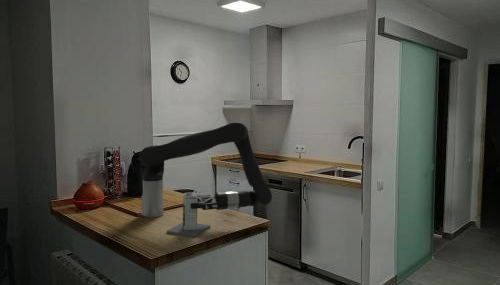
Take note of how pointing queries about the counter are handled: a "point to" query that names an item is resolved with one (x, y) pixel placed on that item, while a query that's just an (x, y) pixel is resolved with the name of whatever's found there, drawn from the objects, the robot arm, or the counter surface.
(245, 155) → the robot arm
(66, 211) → the counter surface
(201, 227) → the trivet mat
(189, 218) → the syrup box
